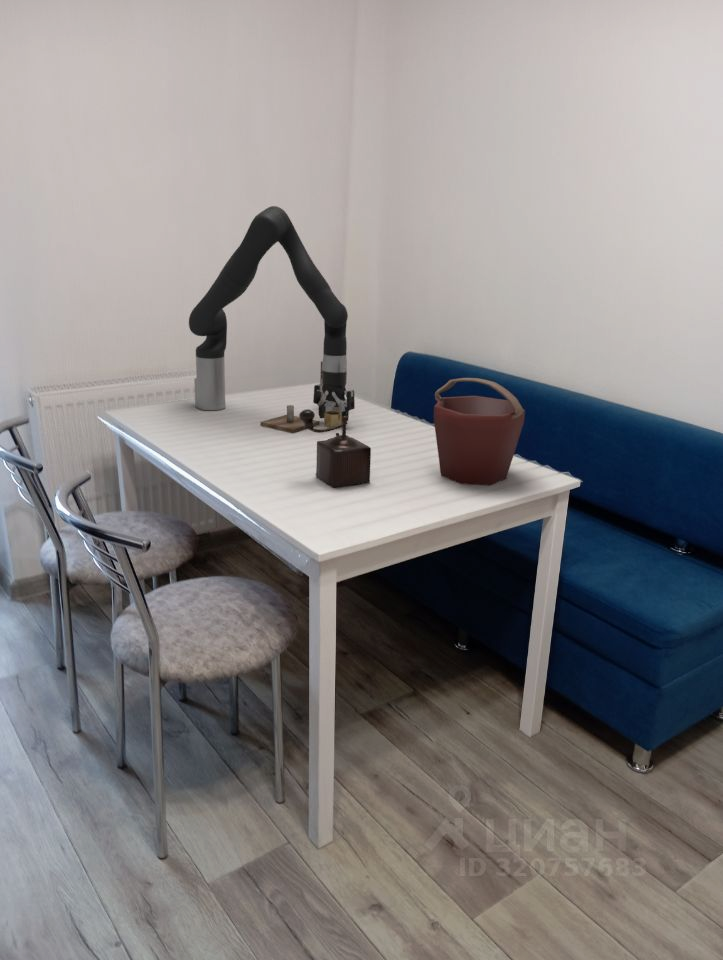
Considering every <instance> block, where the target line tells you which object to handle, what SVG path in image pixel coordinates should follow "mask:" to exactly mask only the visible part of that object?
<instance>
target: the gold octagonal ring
mask: <svg viewBox="0 0 723 960" xmlns="http://www.w3.org/2000/svg"><path fill="white" fill-rule="evenodd" d="M341 417H342V412H339V411H326V412H324V418H323V426H324V427H326V428H329V427H333V426H336V425H339V424H341V423H342V422H341Z"/></svg>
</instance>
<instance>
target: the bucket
mask: <svg viewBox="0 0 723 960" xmlns="http://www.w3.org/2000/svg"><path fill="white" fill-rule="evenodd" d="M459 382H461V383H463V382H472V383H478V384H482V385H485V386H488V387H490V388H492V389H493V390H495V391H496V392H497V393H498V394H500V395H501V396H502V397H504V398H505V399H501V398H500V399H499V398H493V397H486V396H480V395H467V396H466V395H463V396H449V397H447V396H446V397H441V395H440V394H441V393H444V392H446V391H448V390H450V389H451V388H452V387H454V386H455V385H456V384H457V383H459ZM434 399H435V400H436V402H437V403H436V404H435V405H434V406H433V409H434V410H433V423H434V424H433V425H434V431H435V432H434V433H435V440H436V445H437V455H438V462H439V471H440V477H443V478H445V479H447V480H449V481H453V482H455V483H457V484H460V485H469V486H470V485H473V486H474V485H475V486H492V485H495V484H497V482H498V483H500V482H502V481H504V480H506V479H507V478H508V474H509V471H510V469H511V468H510V467H511V465H512V461H513V459H514V455H515V452H516V449H517V446H518V442H519V439H520V437H521V436H520V435H521V433H522V429H523V426H524V424H525V423H524V422H525V416H526V409H524V407H523V406H522V405H521V403H520V402H519V400H518V398H517V397H516V396H515V395H514V394H513V393H512V392H510V391H509V390H508V389H506V388H505V387H504V386H502V385H500V384H499V383H497V382H495V381H492V380H488V379H483V378H477V377H461V378H453V379H449V380H448V381H447V383H445V384H444V385H443V386H441V387H440V388H438V389H437V390H436V391H435V392H434ZM499 481H500V482H499Z"/></svg>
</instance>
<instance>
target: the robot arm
mask: <svg viewBox="0 0 723 960" xmlns="http://www.w3.org/2000/svg"><path fill="white" fill-rule="evenodd" d="M277 243H279V244H280V245H281V247H282V249H283V250H284V251H285V253H286V255H287V256H288V259H289V261H290V264H291V267H292V270H293V274H294V276H295V278H296V281H297V283H298V284H299V286H300V287H301V288H302V291H304V293H305V294H306V295H307V296H308V298H309V299H310V300H311V302H312V303H313V305H315V307H316V309H317V311H318V312H319V314H320V316H321V317H322V319H323V321H324V323H323V324H324V338H323V351H322V353H323V356H322V361H323V362H322V383H323V386H322V385H321V384H320V383H319V384H315V385H314V388H313V401H312V403H313V404H314V405H317V406H318V417H319V419H324V412H326V406H324V405H325V404H326V403H327V402H328V401H333V402H337V403H338V405H339V406H340V407H341V409H342V417H343V416H346V417H347V420H346V421H347V422H348V421H349V415H350V414H349V413H350V411H351V410H354V409H355V408H356V406H355V404H356V403H355V391H354V389H352V390H351V389H350V390H347V389H346V384H347V379H348V378H347V372H348V368H347V367H348V360H347V351H348V350H347V347H348V346H347V335H346V334H347V321H348V319H349V318H348V317H349V316H348V315H349V314H348V309H347V308H346V306H345V304H343V303H341V301H340V299H338V297H337V296H336V295H335V294H334V292H333V291H332V290H333V289H332V288H331V286H330V284H329V283H328V282H327V280H326V279H325V277H324V276H323V274H322V273H321V271H320V270H319V269H318V267H317V266H316V265H315V263H314V262H313V260H312V258H311V257H310V255H309V253H308V251H307V250H306V248H305V246H304V244H303V241H302V240H301V238H300V236H299V233H298V232H297V230H296V228H295V227H294V224H293V222H292V220H291V217H289V215H288V214H287V211H285V210H284V209H283V208H281V207H279V206H276V205H275V206H273V205H272V206H268V207H267V208H265V209H264V210H262V211H261V212H259V213H257V215H255V216H254V218H253V219H252V221H251V223H250V224H249V226H248V229H247V231H246V233H245V235H244V237H243V239H242V241H241V242H240V245H239V246H238V247H237V249H235V251H234V252H233V253H232V255H231V256H230V258H228V260H227V262H226V263H225V265H224V266H223V267H222V268H221V270H220V271H219V274H218V276H217V277H216V279H215V280H214V281H213V283H212V285H211V287H210V288H209V289H208V291H207V292H206V294H205V295H204V296H203V297H202V298H201V300H200V301H199V302H198V303H197V304H196V306H195V307H194V308H193V309H192V310H191V312H190V314H189V317H188V327H189V331H190V332H191V333H192V334H193V335H195V336H197V337H198V336H199V337H205V340H204V341H203V342H202V343H201V344H199V345H198V346H197V347H195V367H196V368H195V369H196V372H195V373H196V378H194V379H193V380H194V406H195V407H196V408H197V409H198V410H203V411H222V410H223V409H225V408H226V375H225V374H226V373H225V372H226V371H225V370H226V369H225V367H226V366H225V364H226V363H225V353H226V350H227V349H226V348H227V341H228V340H227V335H228V321H227V315H226V313H225V310H224V308H225V307H226V306H228V305H230V304H231V303H233V302H235V301H236V300H237V299H238V298H240V297H241V296H242V295H243V294H245V292H246V291H247V289H248V288H249V287H250V285H251V284H252V282H253V280H254V279H255V277H256V275H257V271H258V267H259V264H260V262H261V261H262V258H263V257H264V256H265V255H266V254H267V252H268V251H269V250H270V249H271V248H272V247H273V246H274V245H275V244H277ZM322 391H323V393H324V395H323V396H322V398H321V393H322ZM341 400H342V401H341ZM195 407H194V408H195ZM342 417H341V422H342V421H343V420H342Z"/></svg>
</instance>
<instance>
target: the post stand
mask: <svg viewBox="0 0 723 960" xmlns="http://www.w3.org/2000/svg"><path fill="white" fill-rule="evenodd" d="M294 412H295V406H294V405H292V404H288V405H286V414H283V415H281V416H277V417H274V418H270V419H267V420H266V419H265V420H263V421H260V426H261V427H265V428H269V429H274V430H278V431H282V432H286V433H291V434H296V433H297V432H301V431H304V430H306V429H304V423H303V422H302V421H301V420H300V417H299V416H297V415H295V413H294ZM313 423H314V425H315V427H318V426H320V421H319V420H316V419H315V420H314V419H313Z"/></svg>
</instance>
